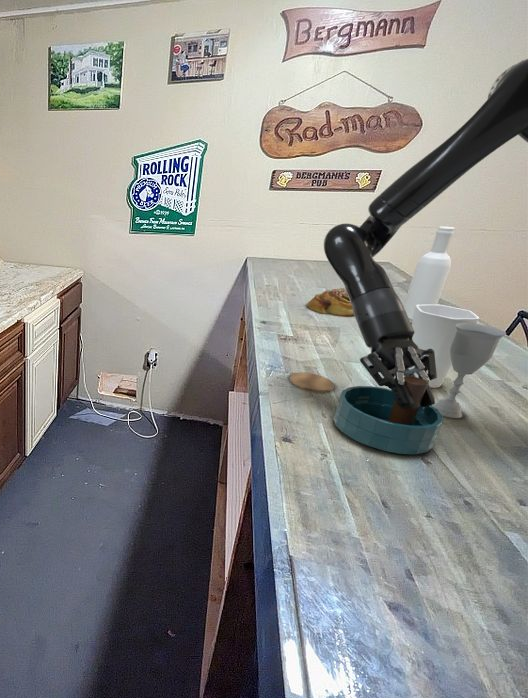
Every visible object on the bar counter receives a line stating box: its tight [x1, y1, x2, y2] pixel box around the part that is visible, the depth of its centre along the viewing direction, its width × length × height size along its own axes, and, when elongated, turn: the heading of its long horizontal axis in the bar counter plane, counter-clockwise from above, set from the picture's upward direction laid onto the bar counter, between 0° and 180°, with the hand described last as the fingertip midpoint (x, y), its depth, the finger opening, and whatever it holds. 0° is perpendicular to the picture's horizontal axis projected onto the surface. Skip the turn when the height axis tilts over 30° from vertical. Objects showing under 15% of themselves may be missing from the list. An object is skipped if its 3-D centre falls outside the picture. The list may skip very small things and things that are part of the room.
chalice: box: [432, 323, 507, 419], centre depth 90 cm, size 7×7×18 cm
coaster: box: [289, 372, 335, 393], centre depth 105 cm, size 9×9×1 cm
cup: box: [403, 303, 480, 389], centre depth 103 cm, size 11×10×17 cm
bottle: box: [402, 225, 456, 320], centre depth 135 cm, size 8×8×30 cm
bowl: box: [332, 385, 444, 455], centre depth 85 cm, size 15×15×6 cm
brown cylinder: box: [388, 376, 428, 426], centre depth 81 cm, size 4×4×8 cm
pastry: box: [306, 287, 355, 318], centre depth 155 cm, size 13×15×8 cm
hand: (418, 406), depth 80 cm, fingers closed on brown cylinder, 3 cm apart
